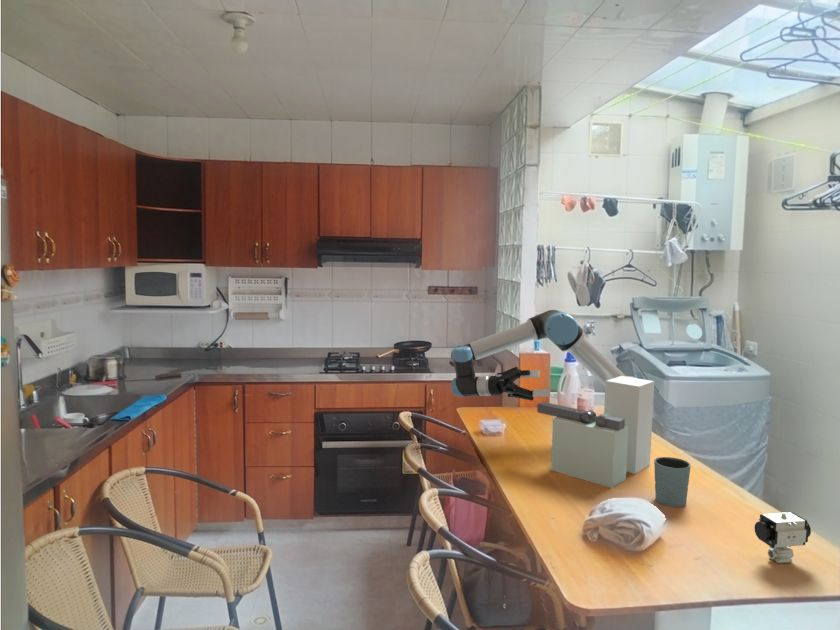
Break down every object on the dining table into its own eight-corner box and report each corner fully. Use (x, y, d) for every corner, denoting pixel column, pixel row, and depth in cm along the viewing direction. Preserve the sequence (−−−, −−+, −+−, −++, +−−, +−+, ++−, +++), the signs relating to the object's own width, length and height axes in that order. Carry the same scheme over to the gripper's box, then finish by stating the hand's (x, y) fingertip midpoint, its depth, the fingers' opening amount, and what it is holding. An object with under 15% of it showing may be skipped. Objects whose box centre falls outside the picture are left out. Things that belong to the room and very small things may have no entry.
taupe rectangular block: (601, 464, 208) (605, 380, 205) (617, 456, 217) (621, 375, 214) (635, 474, 200) (639, 386, 197) (649, 465, 209) (654, 381, 206)
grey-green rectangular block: (551, 469, 203) (553, 408, 201) (566, 462, 210) (568, 403, 208) (611, 488, 188) (614, 422, 186) (625, 479, 195) (629, 415, 193)
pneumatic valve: (751, 557, 146) (755, 510, 145) (793, 553, 148) (797, 507, 147) (768, 568, 141) (771, 520, 139) (811, 565, 142) (815, 517, 141)
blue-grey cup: (672, 510, 172) (674, 470, 171) (644, 497, 181) (646, 459, 180) (696, 504, 177) (698, 464, 176) (667, 491, 186) (670, 454, 184)
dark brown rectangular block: (536, 412, 209) (536, 403, 208) (544, 409, 212) (544, 400, 212) (588, 424, 195) (588, 414, 194) (595, 421, 198) (596, 411, 198)
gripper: (500, 410, 234) (553, 409, 224) (477, 377, 217) (533, 374, 207) (503, 393, 239) (555, 391, 228) (480, 359, 222) (535, 356, 212)
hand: (544, 383), depth 218 cm, fingers open, 13 cm apart
